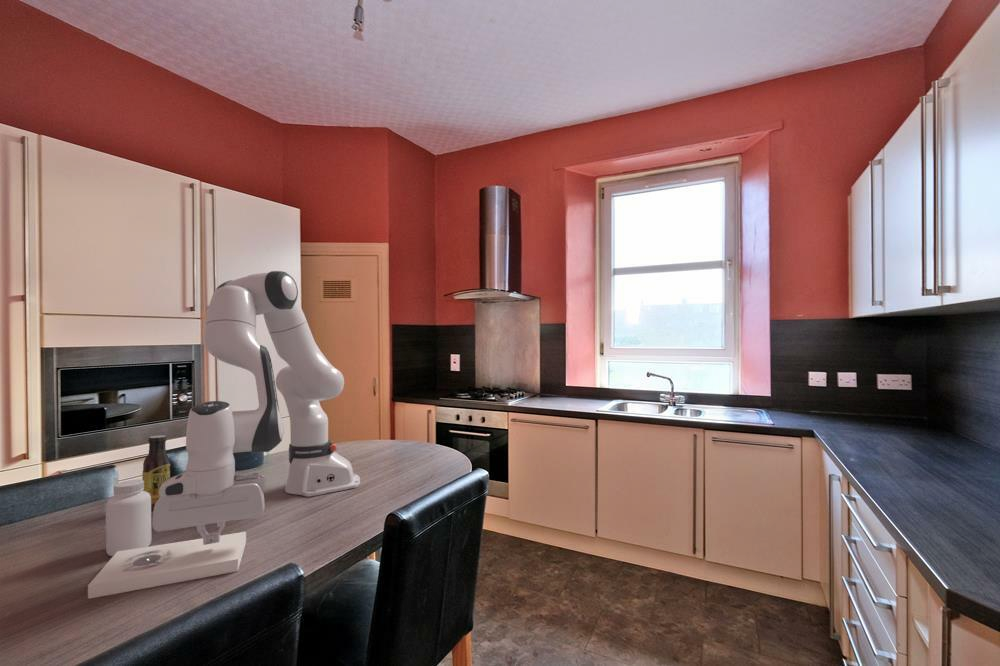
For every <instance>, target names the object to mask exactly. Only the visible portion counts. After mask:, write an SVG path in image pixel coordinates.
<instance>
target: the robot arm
mask: <svg viewBox="0 0 1000 666" xmlns="http://www.w3.org/2000/svg"><path fill="white" fill-rule="evenodd" d="M298 296H299V289H298V286H297V283H296V281H295V279H294V277H293V276H291V275H290V274H289V273H287V272H286V271H281V270H272V271H270V272H269V271H268V272H261V273H260V272H259V273H253V274H250V275H247V276H243V277H240V278H236V279H234V280H233V279H231V280H227V281H225V282H222V283H221V284H220V285H218V286H217V287H216V289H215V291H214V292H213V294H212V296H211V299H210V301H209V305H208V308H207V313H206V317H205V321H204V322H205V324H204V332H203V333H204V335H203V336H204V337H203V339H204V346H205V348H206V350H207V351H208V353H209V354H210V355H212V357H214V358H215V359H217V360H219V361H221V362H223V363H225V364H228V365H231V366H235V367H237V368H241V369H244V370H247V371H248V372H250V373H252V375H253V376H254V378H255V384H256V393H257V399H258V407H257V408H256V409H253V410H252V409H251V410H234V411H233V410H232V406H231V403H229V402H226V401H222V400H212V401H211V400H210V401H205V402H201V403H197V404H195V405H194V406H193V407H191V408H190V410H189V413H188V417H187V424H186V432H185V433H186V434H185V449H186V452H187V457H188V459H187V463H186V469H185V472H183V473H179V474H176V475H174V476H170V478H169V479H168V480H166V481H165V482H164V483H163V484H162V485H161V487H160V489H159V496H160V498H159V499H158V500H157V502H156V504H155V506H154V510H152V518H151V528H152V529H153V530H154V531H156V532H159V533H160V532H164V531H172V530H179V529H185V528H191V527H196V531H197V533H198V534H199V535H200V537H201V538H203V545H206V544H213V543H219V542H220V536H221V533H222V532H223V530H224V528H225V527H226V524H227V522H230V521H231V522H232V521H237V520H238V521H239V520H244V519H250V518H257V517H261V516H262V515H263V513H264V512H265V508H266V507H265V505H266V504H265V503H266V502H265V496H264V491H265V490H266V488H267V480H266V477H264V475H262V474H259V473H256V472H255V473H251V474H240V475H236V470H235V458H234V456H233V453H237V452H250V451H252V452H264V453H269V452H270V451H272V450H273V449H275V448H276V447H278V445H280V443H281V442H282V441H283V437H284V433H285V432H284V431H285V427H284V421H283V419H282V415H281V412H280V408H279V402H278V401H279V400H278V394H277V390H278V391H279V392H280V394H281V395H282V398H283V399H284V401H285V406H286V409H287V412H288V416H289V423H290V424H289V425H290V427H289V428H290V443H289V447H288V462H289V469H288V474H287V475H288V476H287V481H286V485H285V487H284V491H285V493H287V494H292V495H298V496H299V495H300V496H303V497H307V498H310V497H314V496H315V497H316V496H320V495H325V494H329V493H335V492H339V491H345V490H350V489H355V488H357V487H359V486H360V484H361V478H360V476H359V475H358V474H357V473H354V469H353V466H352V463H351V462H350V460H349V459H347V458H345V457H343V456H342V455H341V454H339V453H337V452H336V451H337V450H338V445H337V444H336V443H335V442H334V441H332V440H329V418H328V415H327V413H326V412H325V411H324V409H323V408H322V405H321V403H320V402H321V401H322V402H323V401H328V400H333V399H335V398H337V397H339V396H340V394H342V392H343V390H344V387H345V378H344V375H343V373H342V372H341V371H340V370H339V369H338V368H336V367H334V366H333V365H332V364H331V362H330V361H329V360H328V359H327V358H326V356H325V355H324V354H323V352H322V351H321V349H320V348H319V347H318V345H317V343H316V341H315V338H314V336H313V333H312V331H311V328H310V326H309V323H308V320H307V318H306V315H305V312H304V311H303V309H302V307H301V305H300V303H299V302H298V300H297V299H298ZM260 315H263V318H264V323H265V326H266V329H267V331H268V333H269V336H270V338H271V341H272V344H273V345H274V348H275V351H276V353H277V355H278V357H280V359H282V360H283V361H284V362H285V363H287V366H285V367H283V368H281V369H280V370H279V371H278V373H277V374H276V377H275V375H274V368H273V363H272V358H271V355H270V351H269V350H268V348H267V347H265V346H264V345H262V344H261V343H260V342H259V340H258V337H257V316H260ZM210 524H217V526H216V527H217V528H218V530H217V531H216V532H208V531H207V530H206V526H207V525H210Z"/></svg>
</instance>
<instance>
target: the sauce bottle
mask: <svg viewBox="0 0 1000 666" xmlns="http://www.w3.org/2000/svg"><path fill="white" fill-rule="evenodd" d="M166 442H167V435H164V434H161V435H160V434H159V435H151V436H148V443H149V446H148V454H147V456H146V457H144V458H145V459H144V461H143V467H142V474H141V475H142V477H141V478H142V479H141V480H143V481H144V487H143V488H144V489H143V490H142V491H146V492H148V493H149V494H150V496H151V511H154V506H155V504H156V502H157V500H158V499H159V498H160V496H159V489H160V487H161V485H162V484H163V483H164V482H165V481H166V480H168V479H169V478H171V462H170V460H169V457H168V454H167V451H166Z"/></svg>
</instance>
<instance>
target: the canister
mask: <svg viewBox="0 0 1000 666" xmlns="http://www.w3.org/2000/svg"><path fill="white" fill-rule="evenodd" d="M233 456H234V458H235V471H238V470H246V469H253V468H257V467H259V466H261V465H263V464H264V462H265V452H252V451H250V452H237V453H233Z"/></svg>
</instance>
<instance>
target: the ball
mask: <svg viewBox="0 0 1000 666" xmlns="http://www.w3.org/2000/svg"><path fill="white" fill-rule="evenodd" d="M151 563H153V560H152V559H151V558H150V557H141V558H139V559H138V560H136V562H135V563H134V566H143V565H148V564H151Z"/></svg>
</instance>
